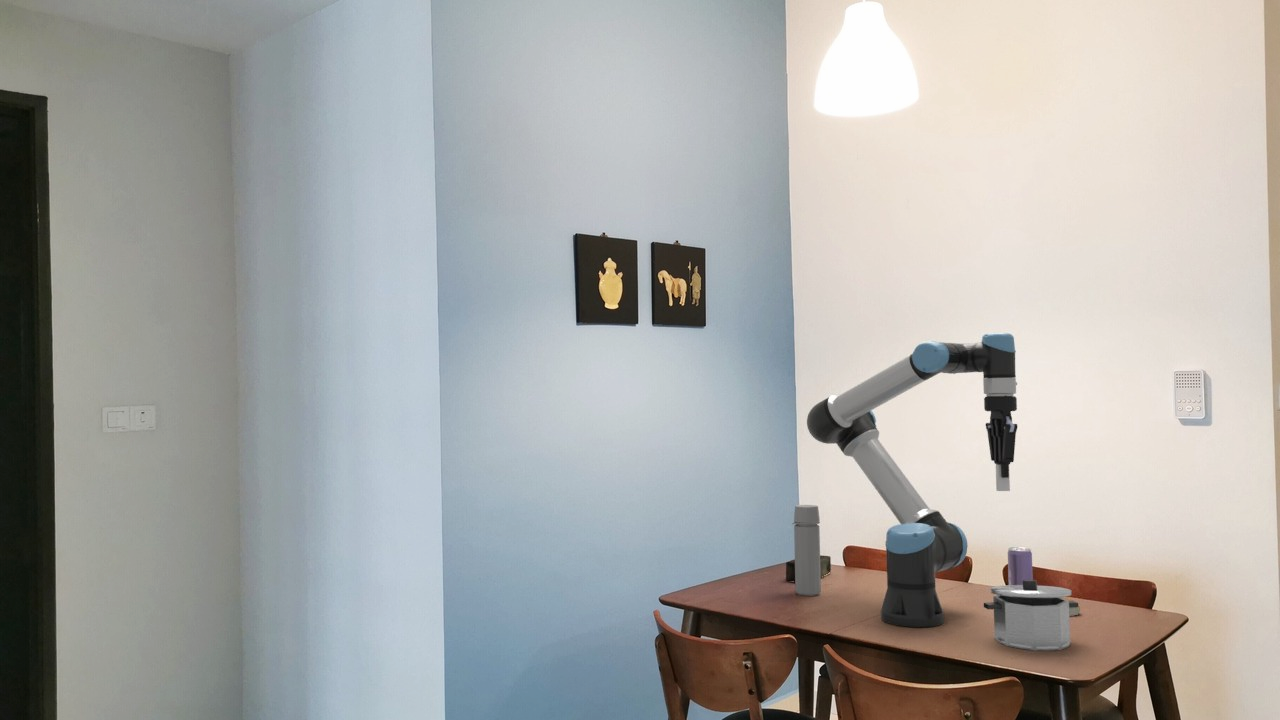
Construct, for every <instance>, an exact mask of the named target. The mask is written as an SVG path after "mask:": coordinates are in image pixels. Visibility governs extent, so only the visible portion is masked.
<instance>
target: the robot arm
mask: <svg viewBox="0 0 1280 720" xmlns="http://www.w3.org/2000/svg"><path fill="white" fill-rule="evenodd" d="M1015 346H1016V344H1015V337H1014V335H1013V334H1011V333H1007V332H998V333H985V334H983V335H982V339H981V341H980V342H975V343H974V342H970V343H954V342H941V341H940V342H939V341H933V340H931V341H923V342H921V343H918V345H916V346H915V348H914V350H913V352H912V353H911V354H909V355H908V356H906V357H904V358H902V359H900V360H899V361H897V362H895V363H894V364H892V365H891V366H888V367H887V368H885V369H884V370H881V371H879V372H878V373H876V374H874V375H873V376H871V377H869V378H868V379H866V380H864V381H862V382H861V383H859V384H857V385H856V386H854V387H852V388H849V389H848V390H846V391H845V392H843V393H841V394H839V395H837V394H832V395H830V396H829V397H827V398H825V399H823V400H822V401H820V402H817V404H815V405H814V406H812V408H811V409H810V410H809V413H808V414H807V418H806V425H807V430H808V432H809V434H810V436H811V437H812V438H813V439H815V440H816V441H818V442H819V443H823V444H828V445H829V444H830V445H831V444H836V445H837V447H838V448H839V449H840V451H841V452H842V453H843V455H844V456H845V457H852V459H854V461H855V463H856V464H857V465H858V466H859V468H860V469H861V471H862V472H863V473H864V475H865V476H866V478H867V479H868V481H869V482H870V483H871V484H872V486H873V487H874V489H875V490H876V491H877V493H878V494H879V495H880V497H881V498H882V500H883V501H884V503H885V504H886V505H887V507H888V508H889V510H890V511H891V512H892V514H893V515H894V516H895V518H896V520H898V522H899V524H896V525H893V526H891V527H890V528H888V530H887V532H886V537H885V538H886V540H885V552H886V555H885V556H886V583H887V586H886V587H887V588H886V591H885V595H884V598H883V600H882V605H881V609H880V619H881V621H882V622H885V623H887V624H891V625H894V626H901V627H908V628H909V627H910V628H911V627H912V628H913V627H914V628H927V627H928V628H929V627H936V626H940V625H942V624H944V622H945V616H944V615H945V614H944V609H943V607H942V604H941V602H940V599H939V596H938V593H937V588H936V587H937V586H936V573H939V572H942V571H948V570H951V569H954V567H957V566H959V565H960V564H962V562H963V561H964V559H965V558H966V556H967V554H968V553H967V552H968V547H969V546H968V540H967V535H965V532H964V531H963V530H962V529H961V527H960V526H958V525H956V524H954V523H952V522H948V521H947V520H946V519H945V518H944V516H943V514H942V513H941V512H940V511H939V510H936V509H931V508H930V507H929V506H928V504H927V503H926V502H925V500H924V499H923V497H922V496H921V495H920V494H919V493H918V491H917V490H916V489H915V487H914V485H913V484H912V482H910V480H909V479H908V478H907V476H906V474H904V473H903V471H902V469H901V468H900V467H899V465H898V464H897V463H896V461H895V460H894V458H893V457H892V456H891V455H890V454H889V452H888V451H887V449H886V448H885V447H884V446H883V443H881V442H880V440H879V436H880V431H879V430H878V428H877V424H876V423H877V419H876V417H875V413H874V412H873V411H872V410H874V409H876V408H878V407H880V406H881V405H884V404H886V403H887V402H889V401H891V400H893V399H895V398H896V397H898V396H900V395H902V394H903V393H905V392H907V391H909V390H911V389H913V388H915V387H916V386H918V385H920V384H922V383H923V382H925V381H927V380H929V379H931V378H933V377H934V376H936V375H938V374H941V373H942V374H953V375H955V374H963V373H965V374H967V373H982V374H983V375H982V376H983V377H982V378H983V379H982V381H983V383H982V384H983V394H984V395H986V396H984V397H983V402H984V403H983V405H984V406H983V407H984V409H983V410H984V411H985V412H990V416H989V422H985V428H986V432H987V438H988V445H989V455H990V460H991V461H992V462H993V463H994V465H995V485H996V492H1010V487H1011V486H1010V482H1011V481H1010V465H1011V463H1014V461H1015V460H1014V459H1015V447H1016V436H1017V434H1016V433H1017V430H1018V424H1017V423H1013V417H1012V412H1015V411H1017V410H1018V408H1017V407H1018V405H1017V402H1018V401H1017V397H1016V396H1015V395H1014V394H1016V393H1017V385H1018V382H1017V378H1016V377H1017V375H1016V347H1015Z"/></svg>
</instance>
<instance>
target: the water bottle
mask: <svg viewBox="0 0 1280 720" xmlns="http://www.w3.org/2000/svg"><path fill="white" fill-rule="evenodd" d="M820 523H821V520H820V513H819V506H818V505H816V504H797V505H794V517H793V522H792V523H791V525H794V526H793V532H794V535H793V536H794V559H795V584H794V585H795V586H794V589H795V590H794V591H795V593H796V594H797V595H800V596H802V595H803V597H814V596H815V595H816V596H818V595H820V594H821V592H822V589H821V588H822V586H821V584H822V583H821V582H822V581H821V579H822V578H821V575H820V555H821V546H820V545H821V544H820V543H821V541H820V540H821V536H820V535H821V534H820V525H819V524H820Z"/></svg>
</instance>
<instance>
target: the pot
mask: <svg viewBox="0 0 1280 720" xmlns="http://www.w3.org/2000/svg"><path fill="white" fill-rule="evenodd" d="M1065 599H1066V598H1064V597H1058V598H1023V597H1010V596H1002V595H996V594H995V595H993V602H992V601H991V602H983V608H984V609H987V610H993V625H994V626H993V628H994V631H993V632H994V640H996V642H998V643H999V644H1001V645H1003V646H1006V647H1011V648H1015V649H1021V650H1025V651H1026V650H1027V651H1034V652H1035V651H1039V652H1041V651H1042V652H1051V651H1054V652H1055V651H1062V650H1066V649H1068V648H1069V647H1070V645H1071V625H1070V623H1071V621H1070V620H1071V619H1070V616H1069V608H1074V607H1078V606H1079V602H1077V601H1074V600H1072V601H1068V600H1065Z"/></svg>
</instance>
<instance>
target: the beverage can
mask: <svg viewBox="0 0 1280 720" xmlns="http://www.w3.org/2000/svg"><path fill="white" fill-rule="evenodd" d="M1007 550H1008V551H1007V568H1008V569H1007V573H1008V574H1007V575H1008V585H1023V582H1022V580H1034V578H1033V574H1034V573H1033V555H1032V554H1033V553H1032V549H1031V548H1029V547H1022V546H1021V547H1020V546H1019V547H1018V546H1015V547H1014V546H1013V547H1008V549H1007Z"/></svg>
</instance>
